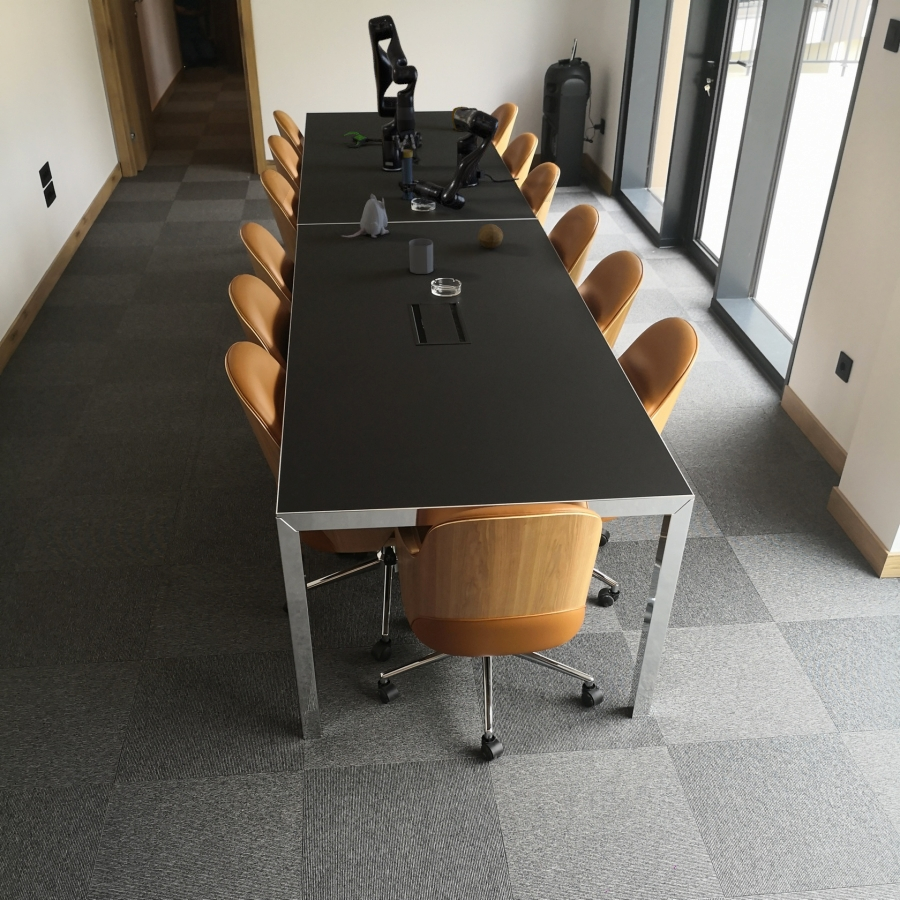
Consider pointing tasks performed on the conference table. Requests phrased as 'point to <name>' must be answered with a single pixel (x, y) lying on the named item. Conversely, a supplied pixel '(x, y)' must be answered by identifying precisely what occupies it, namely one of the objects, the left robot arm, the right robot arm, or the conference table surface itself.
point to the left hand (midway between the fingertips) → (406, 158)
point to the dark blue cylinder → (407, 176)
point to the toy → (373, 218)
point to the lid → (408, 153)
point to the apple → (453, 116)
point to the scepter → (360, 139)
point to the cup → (421, 256)
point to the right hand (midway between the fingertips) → (403, 182)
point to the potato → (490, 236)
